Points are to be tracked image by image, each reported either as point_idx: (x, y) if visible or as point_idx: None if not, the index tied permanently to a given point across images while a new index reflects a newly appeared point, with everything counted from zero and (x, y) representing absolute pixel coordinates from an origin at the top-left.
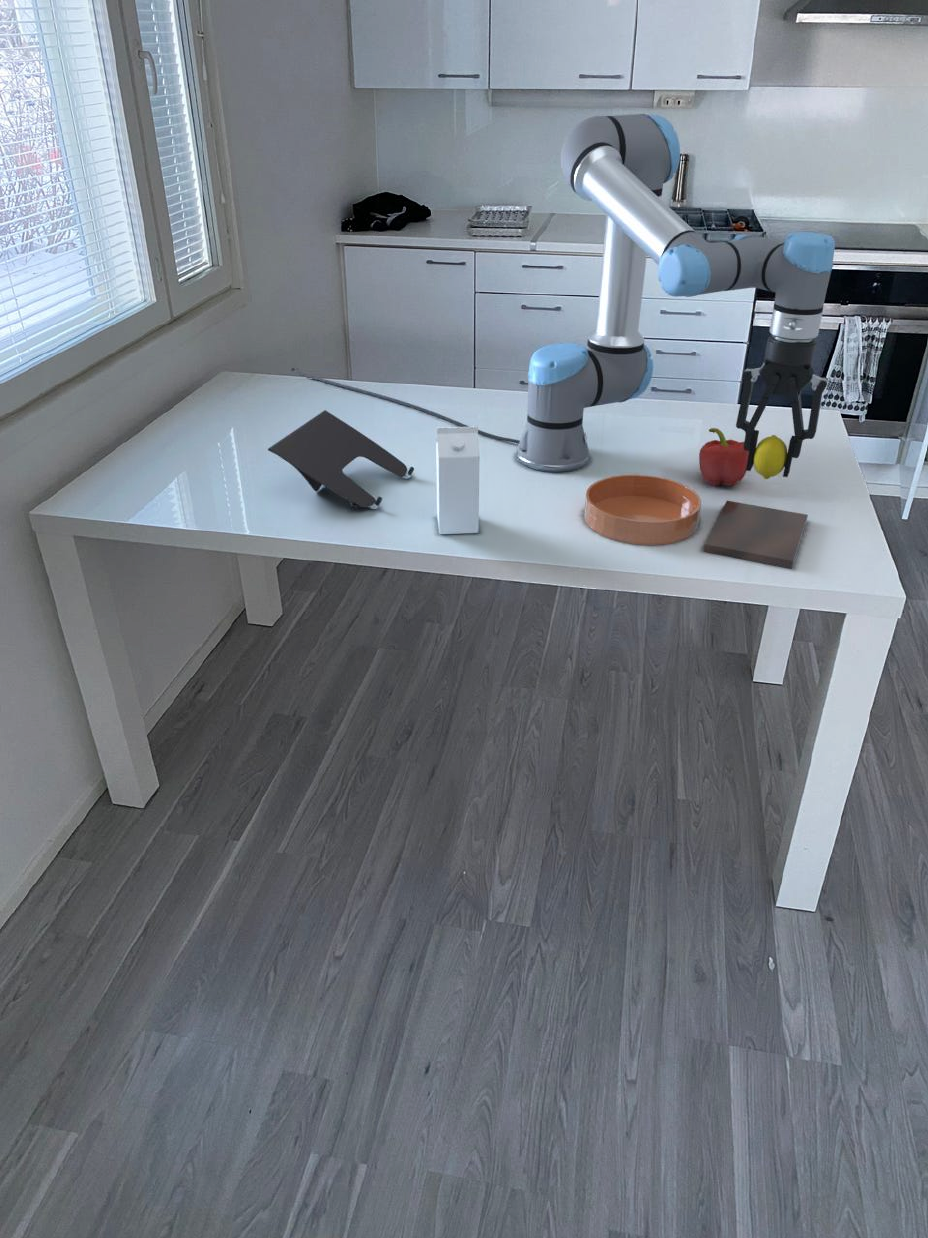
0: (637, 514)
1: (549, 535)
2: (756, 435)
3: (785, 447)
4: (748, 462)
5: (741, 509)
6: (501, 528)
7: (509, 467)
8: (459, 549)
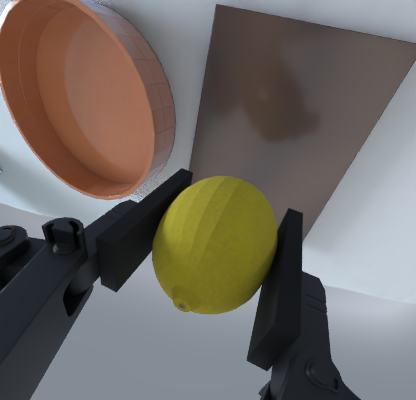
0: (93, 99)
1: (45, 169)
2: (116, 291)
3: (249, 297)
4: None
5: (245, 56)
6: (8, 158)
7: None
8: (12, 199)
